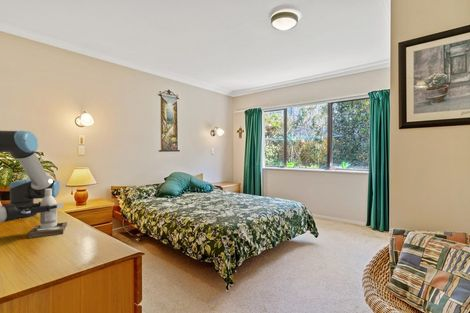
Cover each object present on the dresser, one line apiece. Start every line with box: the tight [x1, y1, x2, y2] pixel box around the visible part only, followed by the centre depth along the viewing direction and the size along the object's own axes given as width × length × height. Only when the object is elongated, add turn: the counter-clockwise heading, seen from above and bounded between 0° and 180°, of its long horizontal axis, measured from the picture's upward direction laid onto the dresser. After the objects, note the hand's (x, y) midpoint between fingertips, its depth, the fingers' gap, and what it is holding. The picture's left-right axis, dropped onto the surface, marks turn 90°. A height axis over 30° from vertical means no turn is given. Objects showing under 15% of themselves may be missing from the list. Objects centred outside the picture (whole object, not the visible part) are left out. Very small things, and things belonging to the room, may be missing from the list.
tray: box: [28, 221, 68, 239], centre depth 131 cm, size 14×14×2 cm
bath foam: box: [39, 189, 58, 229], centre depth 130 cm, size 7×7×20 cm
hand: (59, 204), depth 134 cm, fingers closed on bath foam, 7 cm apart
